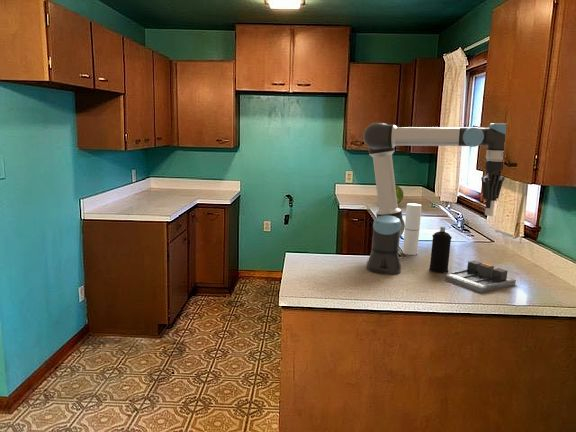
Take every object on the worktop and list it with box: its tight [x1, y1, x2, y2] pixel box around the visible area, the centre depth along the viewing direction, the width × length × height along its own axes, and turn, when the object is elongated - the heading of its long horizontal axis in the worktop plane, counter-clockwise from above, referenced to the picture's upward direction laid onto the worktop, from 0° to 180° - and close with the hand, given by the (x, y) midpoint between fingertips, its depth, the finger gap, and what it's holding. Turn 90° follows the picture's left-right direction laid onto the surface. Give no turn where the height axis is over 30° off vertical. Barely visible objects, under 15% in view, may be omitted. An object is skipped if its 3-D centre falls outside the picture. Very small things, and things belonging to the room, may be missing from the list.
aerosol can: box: [428, 226, 452, 274], centre depth 208 cm, size 8×8×20 cm
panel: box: [444, 260, 517, 294], centre depth 195 cm, size 22×18×6 cm
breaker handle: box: [479, 262, 495, 278], centre depth 197 cm, size 4×4×5 cm
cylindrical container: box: [402, 202, 422, 256], centre depth 236 cm, size 7×7×25 cm
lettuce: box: [395, 184, 404, 205], centre depth 374 cm, size 17×23×16 cm
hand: (488, 215), depth 202 cm, fingers closed
